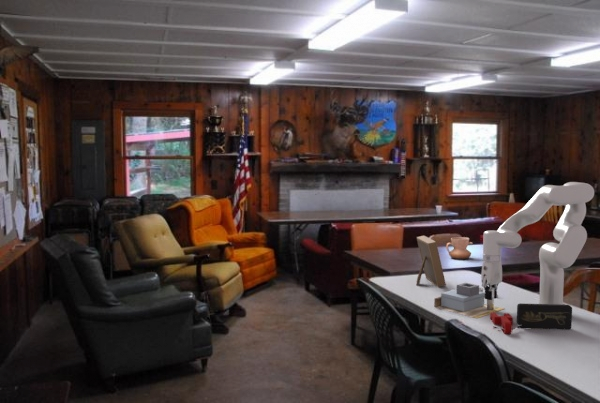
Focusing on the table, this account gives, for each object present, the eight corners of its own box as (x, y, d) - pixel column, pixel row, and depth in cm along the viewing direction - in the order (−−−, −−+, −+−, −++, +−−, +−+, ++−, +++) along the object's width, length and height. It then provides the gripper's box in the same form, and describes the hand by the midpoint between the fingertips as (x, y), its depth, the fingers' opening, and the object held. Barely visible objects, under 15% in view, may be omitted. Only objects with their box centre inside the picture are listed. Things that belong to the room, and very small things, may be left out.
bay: (504, 312, 236) (504, 300, 236) (476, 321, 223) (476, 309, 222) (462, 301, 254) (462, 290, 253) (434, 310, 240) (434, 298, 239)
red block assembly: (489, 322, 222) (490, 311, 222) (507, 323, 221) (507, 311, 221) (498, 335, 206) (499, 323, 206) (517, 336, 205) (518, 323, 205)
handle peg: (495, 309, 235) (495, 287, 234) (491, 311, 233) (492, 289, 232) (489, 308, 237) (489, 286, 236) (485, 309, 235) (486, 287, 235)
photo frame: (433, 277, 304) (433, 235, 302) (446, 286, 283) (446, 241, 280) (408, 278, 303) (408, 235, 301) (419, 287, 282) (419, 242, 279)
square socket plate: (484, 305, 241) (484, 284, 240) (463, 311, 231) (464, 289, 230) (461, 299, 250) (462, 279, 250) (440, 305, 240) (441, 284, 240)
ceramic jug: (469, 256, 370) (469, 236, 369) (475, 260, 355) (475, 239, 354) (443, 256, 371) (443, 236, 370) (448, 260, 357) (448, 239, 356)
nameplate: (569, 328, 214) (570, 304, 213) (571, 330, 212) (572, 305, 211) (516, 327, 216) (517, 303, 215) (517, 328, 214) (518, 304, 213)
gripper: (489, 261, 225) (487, 303, 227) (509, 257, 235) (508, 297, 237) (473, 259, 231) (472, 300, 233) (494, 255, 241) (493, 294, 243)
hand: (490, 298), depth 235 cm, fingers closed on handle peg, 3 cm apart
